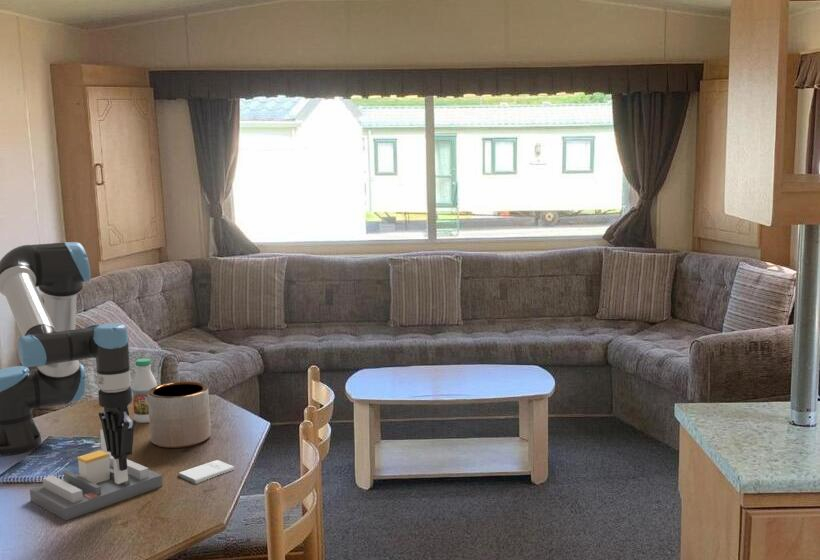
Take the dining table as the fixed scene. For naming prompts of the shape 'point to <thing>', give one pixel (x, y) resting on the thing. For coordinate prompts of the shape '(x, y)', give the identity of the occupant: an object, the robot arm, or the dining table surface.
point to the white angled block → (104, 444)
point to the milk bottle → (142, 390)
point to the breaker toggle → (94, 466)
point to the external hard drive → (205, 471)
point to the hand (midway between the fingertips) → (121, 481)
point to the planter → (179, 414)
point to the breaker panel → (92, 490)
